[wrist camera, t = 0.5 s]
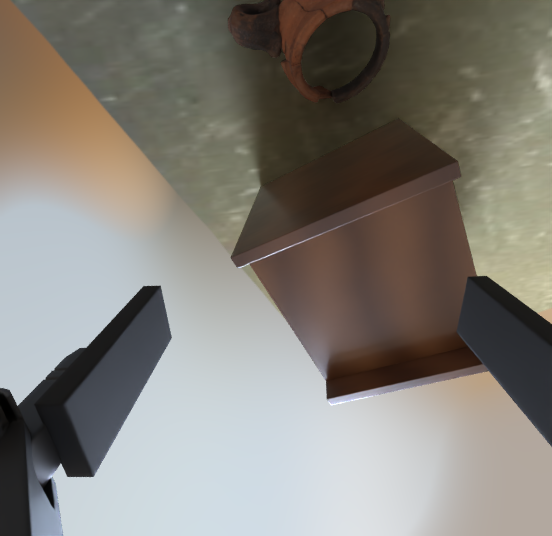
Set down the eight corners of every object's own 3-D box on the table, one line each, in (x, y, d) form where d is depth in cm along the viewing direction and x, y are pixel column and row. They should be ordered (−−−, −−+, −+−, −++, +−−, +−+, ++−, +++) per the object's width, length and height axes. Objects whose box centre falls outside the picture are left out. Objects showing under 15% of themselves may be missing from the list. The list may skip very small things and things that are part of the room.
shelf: (398, 117, 30) (458, 160, 18) (444, 265, 38) (507, 367, 26) (260, 186, 35) (230, 257, 23) (326, 304, 43) (330, 405, 31)
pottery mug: (377, -74, 24) (423, -31, 20) (352, 62, 32) (380, 112, 28) (215, -63, 23) (227, -15, 19) (231, 75, 31) (242, 129, 27)
